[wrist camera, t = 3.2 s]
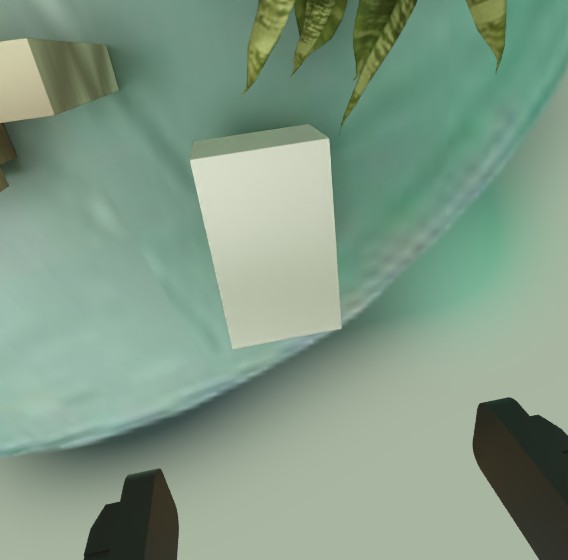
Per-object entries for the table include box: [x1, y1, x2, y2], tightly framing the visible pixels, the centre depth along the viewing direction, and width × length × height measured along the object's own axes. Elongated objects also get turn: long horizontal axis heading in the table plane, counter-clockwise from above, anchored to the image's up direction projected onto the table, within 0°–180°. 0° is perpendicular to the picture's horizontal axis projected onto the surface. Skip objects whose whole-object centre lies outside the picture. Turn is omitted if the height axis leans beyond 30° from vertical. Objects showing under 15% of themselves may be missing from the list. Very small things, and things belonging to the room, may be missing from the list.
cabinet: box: [190, 124, 342, 349], centre depth 21 cm, size 9×5×9 cm, turn 7°
